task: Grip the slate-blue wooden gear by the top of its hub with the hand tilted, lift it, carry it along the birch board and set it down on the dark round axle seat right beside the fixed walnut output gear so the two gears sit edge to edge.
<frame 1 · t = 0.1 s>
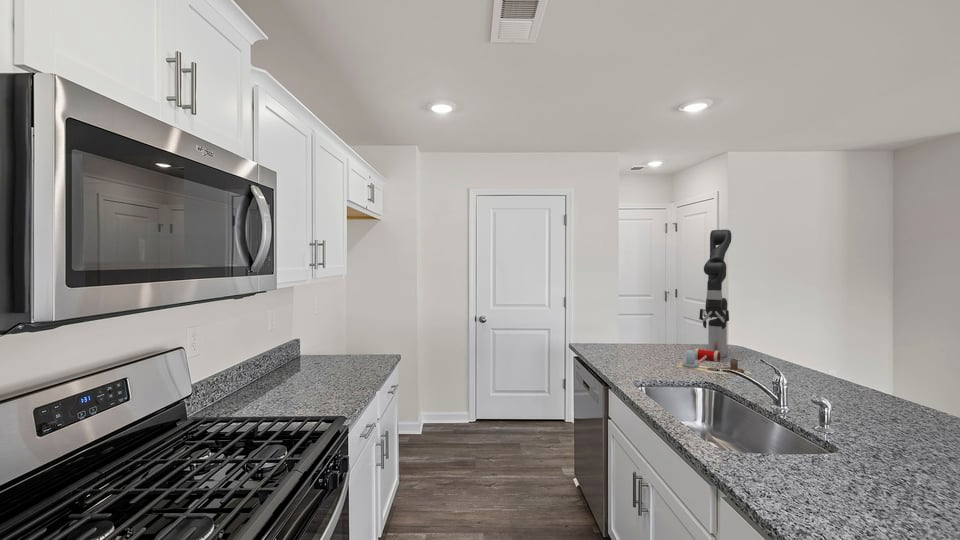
hand: (713, 328, 240), 17 cm above the worktop, tool pointing down, fingers open, 8 cm apart
toy hammer: (704, 363, 234), on the worktop
output gear: (734, 372, 208), resting on gear board
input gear: (690, 366, 220), point 1 cm above the worktop, touching gear board
gear board: (711, 371, 214), on the worktop
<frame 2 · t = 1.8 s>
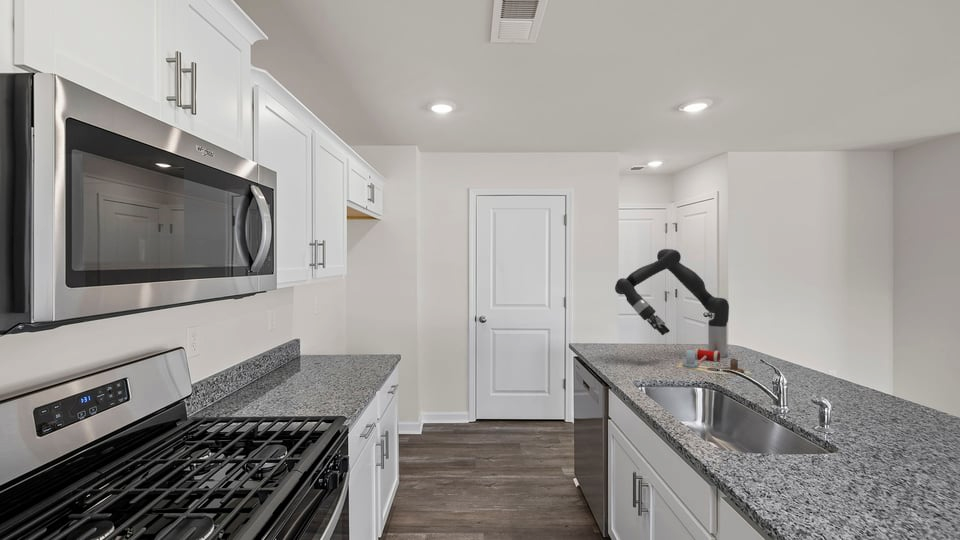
hand: (666, 333, 226), 17 cm above the worktop, tool tilted 45°, fingers open, 8 cm apart
nothing on the worktop moved.
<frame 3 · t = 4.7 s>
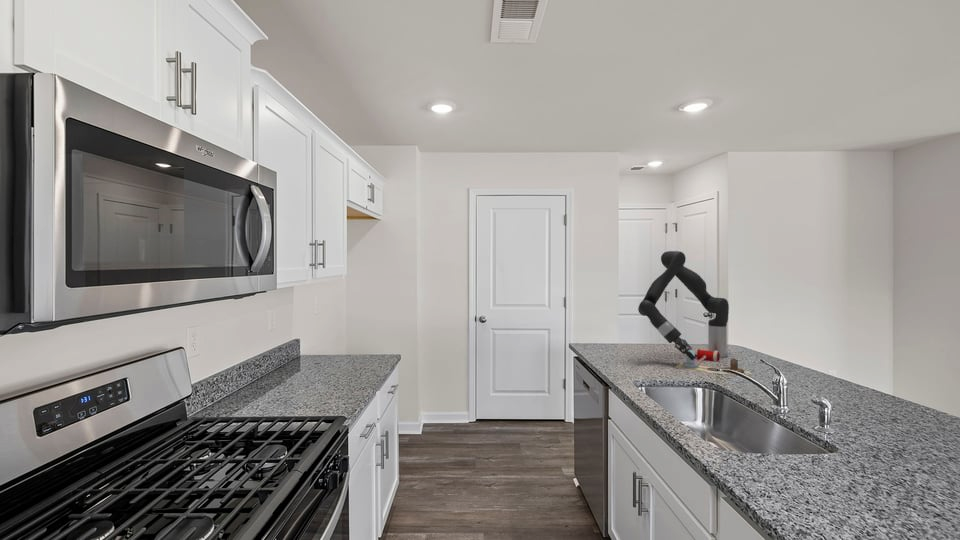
hand: (694, 358, 218), 6 cm above the worktop, tool tilted 45°, fingers closed on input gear, 4 cm apart
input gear: (690, 366, 220), point 1 cm above the worktop, touching gear board, gripper
everything else where it was.
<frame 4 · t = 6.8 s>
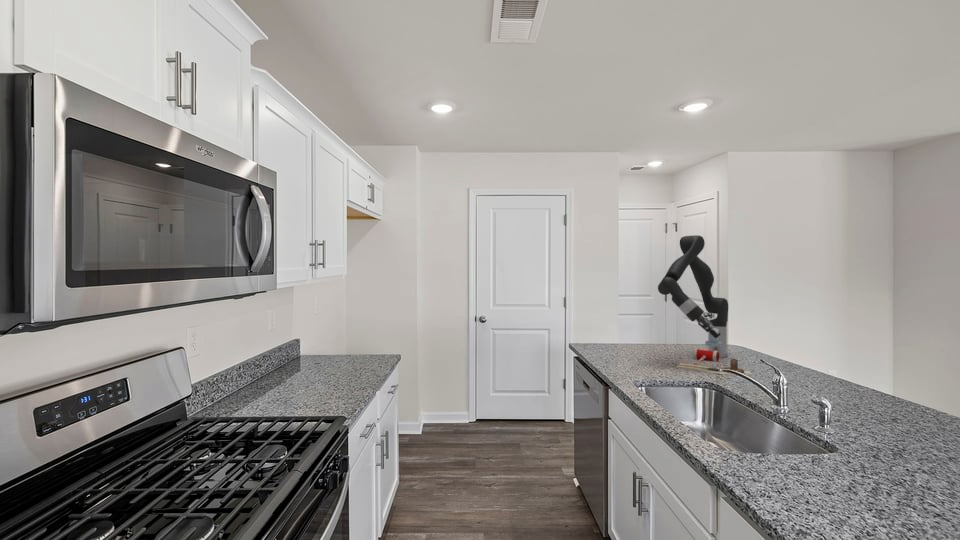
hand: (718, 336, 212), 18 cm above the worktop, tool tilted 45°, fingers closed on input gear, 4 cm apart
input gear: (713, 345, 213), point 13 cm above the worktop, touching gripper
everything else where it was.
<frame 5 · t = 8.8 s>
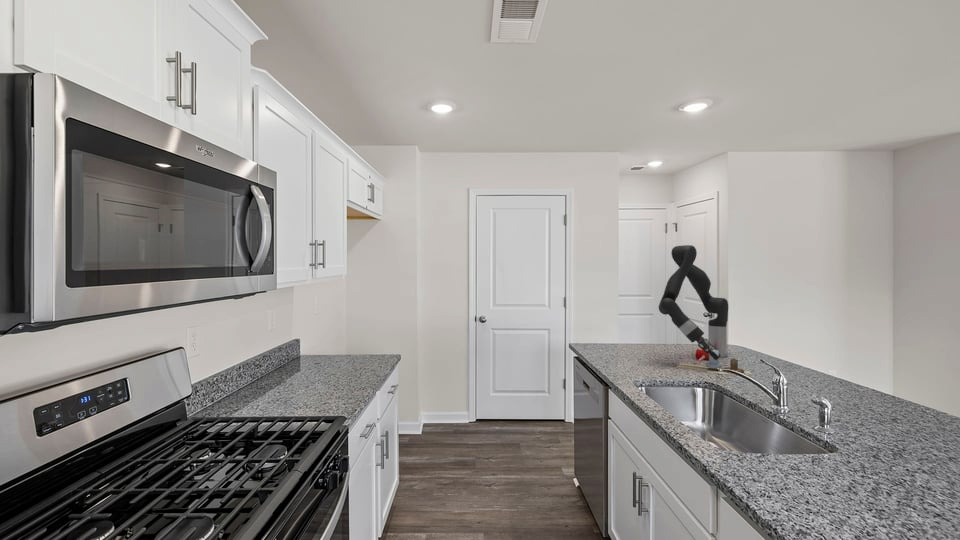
hand: (718, 358, 212), 7 cm above the worktop, tool tilted 45°, fingers closed on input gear, 4 cm apart
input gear: (713, 366, 213), point 3 cm above the worktop, touching gripper
everything else where it was.
when the fingers open (7 cm above the worktop, at t = 9.0 s): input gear drops 1 cm, resting on gear board.
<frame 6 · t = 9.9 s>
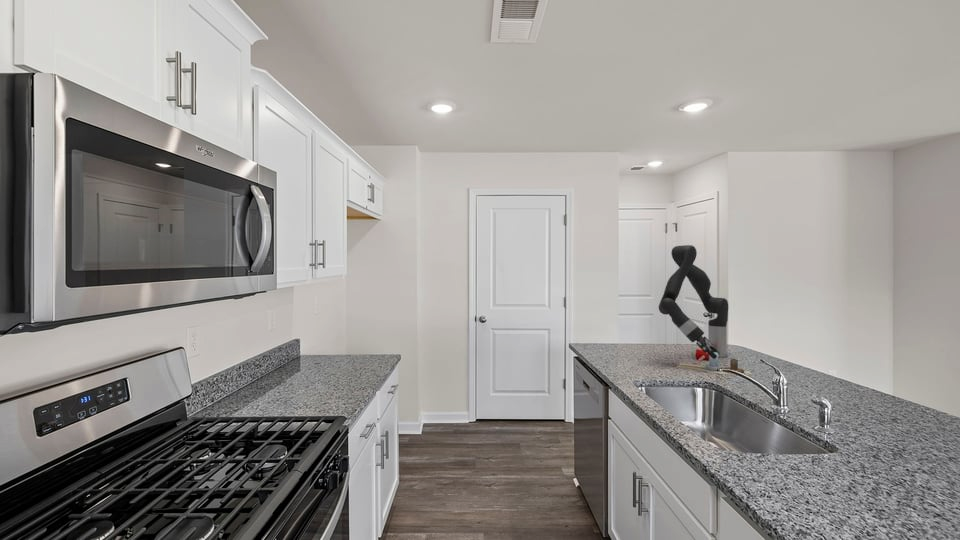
hand: (717, 356, 213), 8 cm above the worktop, tool tilted 45°, fingers open, 8 cm apart
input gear: (713, 369, 213), point 1 cm above the worktop, touching gear board
everything else where it was.
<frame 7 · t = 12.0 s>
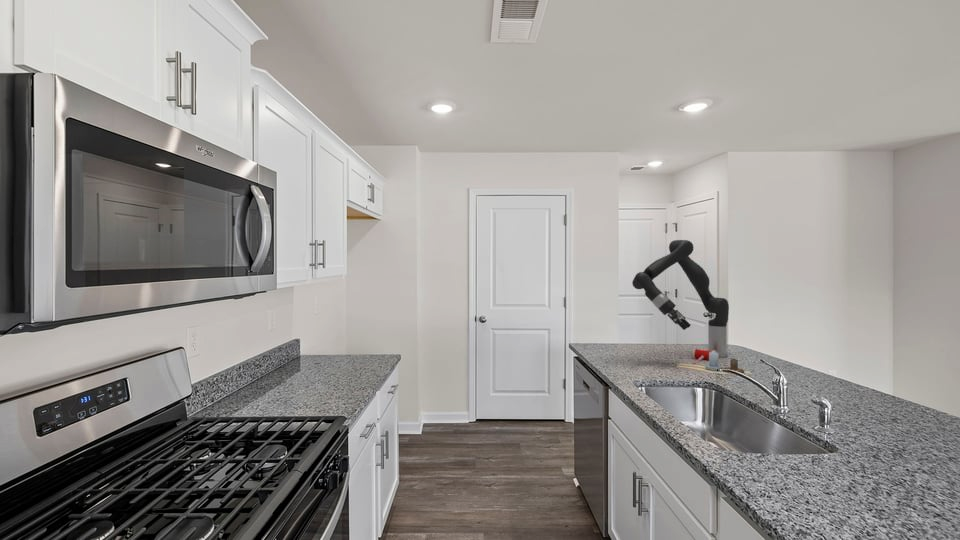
hand: (687, 327, 220), 21 cm above the worktop, tool tilted 45°, fingers open, 8 cm apart
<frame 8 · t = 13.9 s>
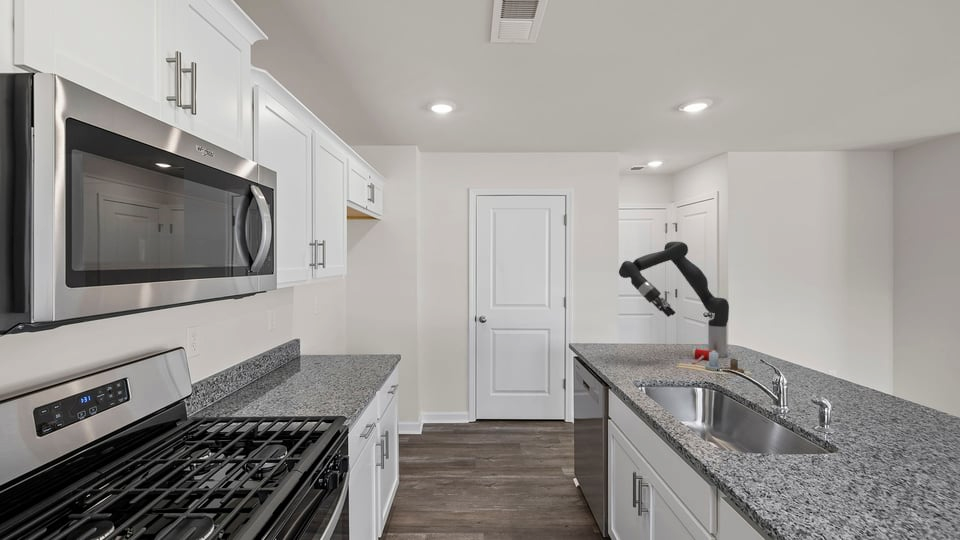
hand: (672, 314, 224), 27 cm above the worktop, tool tilted 45°, fingers open, 8 cm apart
at the end: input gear 0.1 cm from the target spot, point 1.4 cm above the worktop; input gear tilted 0°; the gripper is holding nothing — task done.
